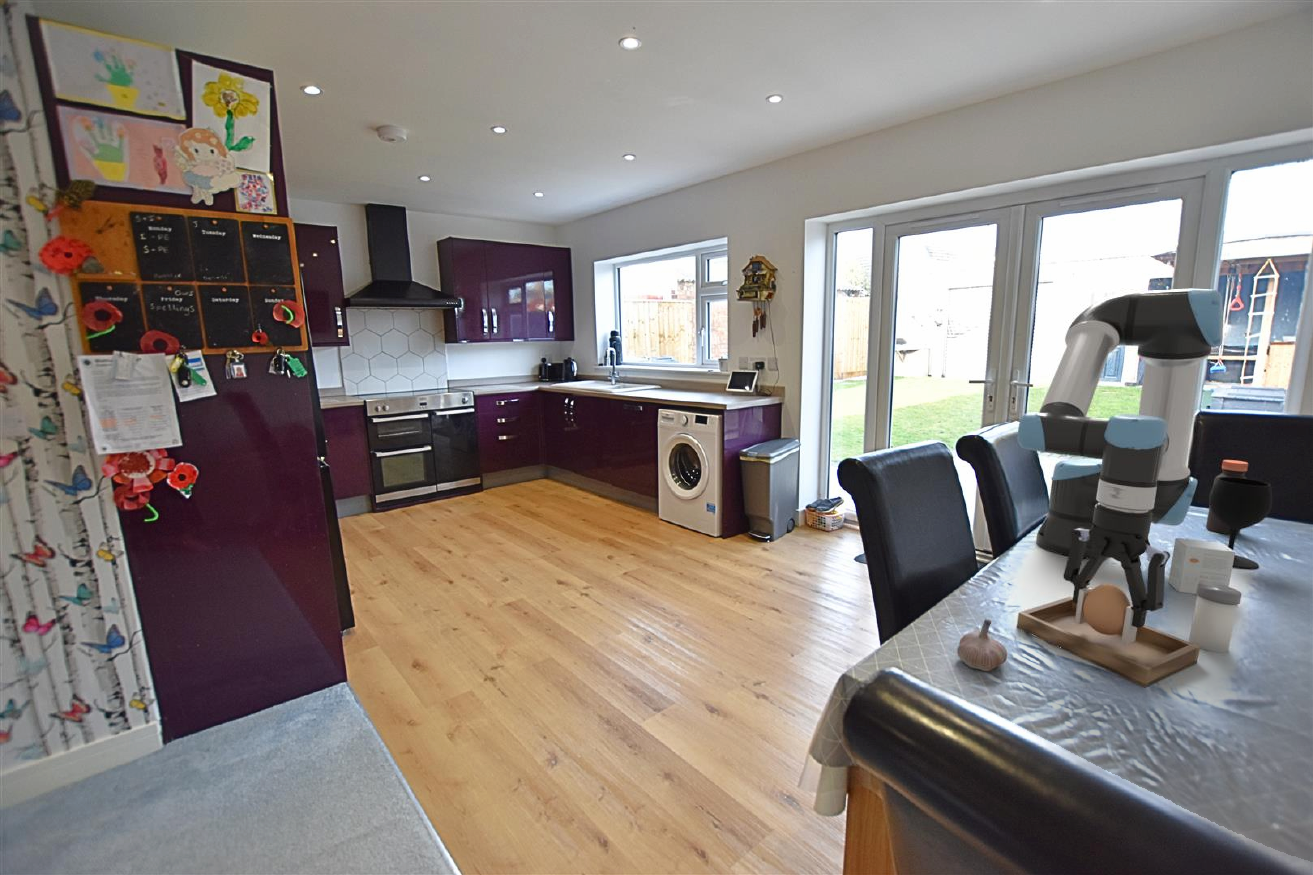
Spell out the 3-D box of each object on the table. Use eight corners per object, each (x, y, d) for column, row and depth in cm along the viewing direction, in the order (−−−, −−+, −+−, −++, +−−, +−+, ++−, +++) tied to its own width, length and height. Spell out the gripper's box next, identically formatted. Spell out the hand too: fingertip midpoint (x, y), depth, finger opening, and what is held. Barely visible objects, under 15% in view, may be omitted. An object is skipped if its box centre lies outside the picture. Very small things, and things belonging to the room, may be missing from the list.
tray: (1016, 627, 104) (1018, 612, 104) (1068, 610, 111) (1070, 596, 110) (1144, 687, 87) (1147, 669, 86) (1197, 662, 93) (1200, 646, 93)
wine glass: (1211, 565, 133) (1227, 484, 130) (1190, 550, 143) (1204, 474, 139) (1269, 572, 129) (1287, 489, 126) (1243, 556, 139) (1259, 478, 135)
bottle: (1199, 526, 161) (1211, 458, 157) (1225, 527, 160) (1238, 459, 156) (1218, 534, 154) (1232, 464, 151) (1246, 535, 153) (1260, 464, 150)
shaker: (1181, 640, 100) (1191, 585, 98) (1196, 634, 102) (1206, 580, 100) (1221, 656, 95) (1232, 598, 93) (1236, 649, 97) (1247, 592, 95)
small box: (1214, 588, 121) (1223, 542, 119) (1227, 599, 116) (1236, 551, 114) (1166, 581, 124) (1174, 536, 122) (1177, 592, 119) (1185, 545, 117)
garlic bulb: (998, 654, 96) (1003, 611, 94) (1015, 679, 89) (1020, 633, 87) (950, 649, 97) (954, 606, 96) (963, 673, 90) (967, 627, 89)
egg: (1138, 641, 96) (1146, 591, 94) (1105, 644, 95) (1113, 594, 93) (1102, 622, 102) (1109, 575, 101) (1070, 625, 101) (1077, 578, 100)
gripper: (1049, 494, 101) (1033, 611, 106) (1185, 527, 84) (1160, 666, 88) (1074, 489, 105) (1058, 603, 109) (1209, 520, 87) (1184, 654, 91)
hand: (1103, 631), depth 98 cm, fingers closed on egg, 7 cm apart
